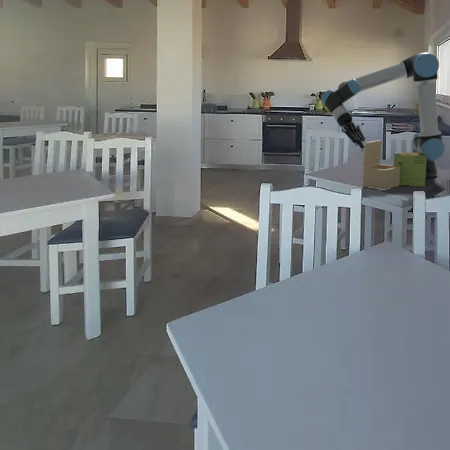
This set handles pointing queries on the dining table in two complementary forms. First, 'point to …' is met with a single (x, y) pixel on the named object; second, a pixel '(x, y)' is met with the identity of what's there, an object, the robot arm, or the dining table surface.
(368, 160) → the lid
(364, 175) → the carton
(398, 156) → the protein box
